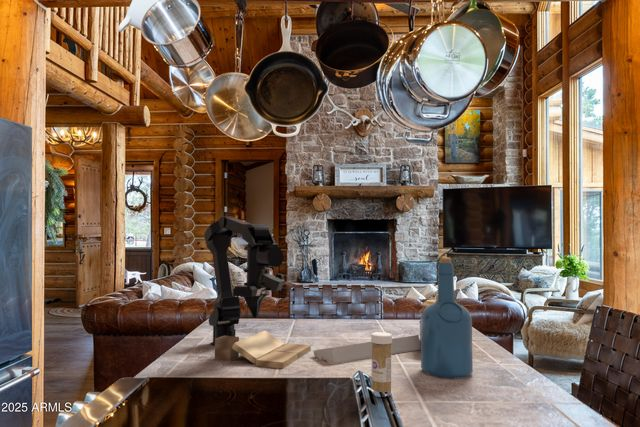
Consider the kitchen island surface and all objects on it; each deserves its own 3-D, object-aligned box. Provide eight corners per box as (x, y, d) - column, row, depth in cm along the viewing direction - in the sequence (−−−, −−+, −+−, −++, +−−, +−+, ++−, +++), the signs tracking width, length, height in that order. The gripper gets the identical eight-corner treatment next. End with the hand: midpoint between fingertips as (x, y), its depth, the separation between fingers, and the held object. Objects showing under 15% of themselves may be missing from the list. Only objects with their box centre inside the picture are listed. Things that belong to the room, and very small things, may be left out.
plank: (231, 347, 128) (234, 342, 128) (262, 334, 147) (264, 330, 147) (254, 363, 126) (256, 358, 126) (282, 348, 145) (284, 343, 145)
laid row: (255, 365, 125) (256, 359, 125) (286, 348, 145) (286, 343, 146) (283, 368, 122) (283, 362, 122) (310, 350, 143) (310, 345, 143)
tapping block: (214, 360, 130) (215, 338, 131) (223, 356, 135) (223, 335, 135) (230, 361, 129) (230, 340, 129) (238, 357, 133) (239, 336, 134)
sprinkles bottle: (367, 395, 101) (367, 333, 102) (378, 390, 105) (378, 330, 105) (384, 400, 98) (384, 336, 99) (395, 394, 102) (395, 333, 102)
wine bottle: (416, 365, 126) (416, 256, 128) (465, 366, 126) (463, 257, 128) (426, 380, 113) (425, 258, 115) (480, 381, 112) (479, 258, 114)
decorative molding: (315, 367, 134) (334, 365, 126) (313, 350, 136) (332, 347, 128) (400, 352, 153) (421, 350, 145) (397, 338, 155) (418, 334, 147)
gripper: (267, 267, 127) (266, 324, 126) (292, 264, 145) (291, 314, 144) (232, 266, 131) (230, 322, 130) (260, 264, 148) (259, 312, 147)
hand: (255, 317), depth 138 cm, fingers closed
